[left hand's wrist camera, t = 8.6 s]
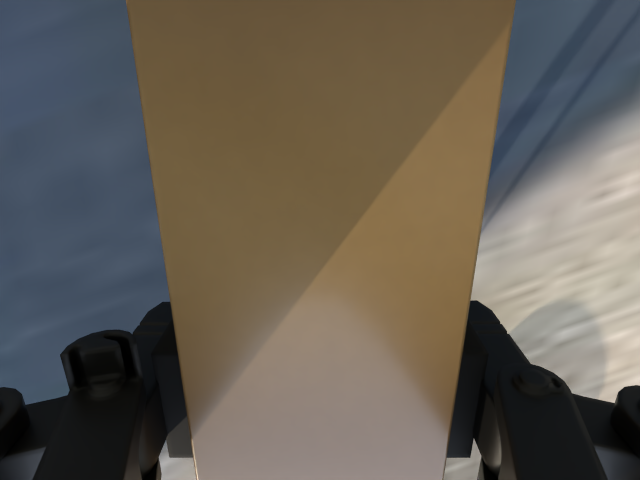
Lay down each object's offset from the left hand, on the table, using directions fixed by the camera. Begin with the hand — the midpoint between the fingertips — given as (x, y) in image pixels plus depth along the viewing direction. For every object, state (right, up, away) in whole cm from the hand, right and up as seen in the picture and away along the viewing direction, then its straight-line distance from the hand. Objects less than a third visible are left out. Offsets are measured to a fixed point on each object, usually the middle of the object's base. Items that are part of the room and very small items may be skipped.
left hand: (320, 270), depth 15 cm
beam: (0, +27, -10) cm, 29 cm away
